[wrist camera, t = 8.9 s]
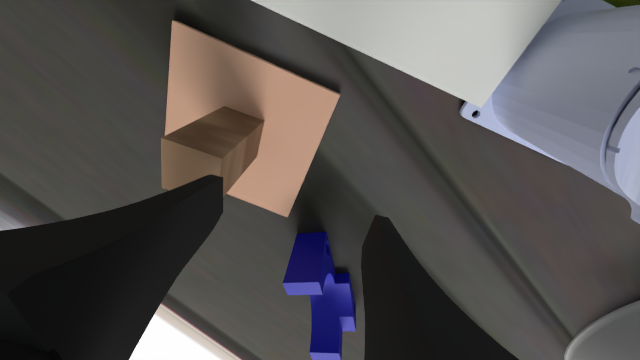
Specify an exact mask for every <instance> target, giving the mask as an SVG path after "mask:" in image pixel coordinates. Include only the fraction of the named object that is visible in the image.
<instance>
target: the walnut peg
mask: <svg viewBox="0 0 640 360" xmlns="http://www.w3.org/2000/svg"><path fill="white" fill-rule="evenodd" d="M264 122H265V121H264V120H262V119H259V118H256V117H253V116H250V115H248V114H245V113H242V112H239V111H236V110H234V109H231V108H228V107H225V106H223V107H221V108H219V109H217V110H215V111H213V112H211V113H209V114H207V115H205V116H203V117H201V118H199V119H197V120H195V121H193V122H191V123H189V124H187V125H185V126H183V127H181V128H179V129H177V130H175V131H174V132H172V133H170V134H168V135H166V136H164V137H162V138H161V166H162V188H164V189H167V190H172V189H175V188H177V187H180V186H182V185H184V184H187V183H189V182H192V181H194V180H196V179H199V178H201V177H204V176H207V175H210V174H212V175H216V176H220V177H223V197H224V196H225V194H226V193H227V192H228V191H229V190H230V188H231V187H232V186H233V185H234V184H235V182H236V181H237V180H238V179H239V178H240V176H241V175H242V174H243V173H244V172H245V170H246V169H247V168H248V167H249V166H250V164H251V163H252V162H253V161H254V160H255V158H256V157H257V155H258V150H259V145H260V140H261V136H262V131H263V126H264Z"/></svg>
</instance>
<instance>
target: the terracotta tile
mask: <svg viewBox="0 0 640 360" xmlns="http://www.w3.org/2000/svg"><path fill="white" fill-rule="evenodd" d="M339 97H340V93H337V92H335V91H333V90H331V89H329V88H326V87H324V86H322V85H320V84H317V83H315V82H313V81H311V80H308V79H306V78H304V77H302V76H300V75H297V74H295V73H293V72H291V71H288V70H286V69H284V68H282V67H279V66H277V65H275V64H273V63H270V62H268V61H266V60H264V59H262V58H259V57H257V56H255V55H253V54H250V53H248V52H246V51H244V50H241V49H239V48H237V47H235V46H233V45H230V44H228V43H226V42H224V41H221V40H219V39H217V38H215V37H212V36H210V35H208V34H206V33H203V32H201V31H199V30H197V29H195V28H192V27H190V26H188V25H186V24H183V23H181V22H179V21H173V20H172V33H171V49H170V65H169V81H168V96H167V112H166V128H165V136H166V135H168V134H170V133H172V132H174V131H175V130H177V129H179V128H181V127H183V126H185V125H187V124H189V123H191V122H193V121H195V120H197V119H199V118H201V117H203V116H205V115H207V114H209V113H211V112H213V111H215V110H217V109H219V108H221V107H223V106H225V107H228V108H231V109H234V110H236V111H239V112H242V113H245V114H248V115H250V116H253V117H256V118H259V119H262V120H264V121H265V122H264V126H263V131H262V136H261V140H260V145H259V150H258V155H257V157H256V158H255V160H254V161H253V162H252V163H251V164H250V166H249V167H248V168H247V169H246V170H245V172H244V173H243V174H242V175H241V176H240V178H239V179H238V180H237V181H236V182H235V184H234V185H233V186H232V187H231V188H230V190H229V191H228V192H227V193H226V194H229V195H232V196H234V197H237V198H239V199H242V200H244V201H247V202H250V203H252V204H255V205H257V206H260V207H262V208H265V209H267V210H270V211H273V212H275V213H278V214H280V215H283V216H285V217H288V215H289V213H290V211H291V208H292V206H293V204H294V201H295V199H296V197H297V194H298V192H299V190H300V187H301V185H302V183H303V180H304V178H305V176H306V173H307V171H308V169H309V166H310V164H311V162H312V159H313V157H314V155H315V152H316V150H317V148H318V145H319V143H320V141H321V138H322V136H323V134H324V131H325V129H326V127H327V124H328V122H329V120H330V118H331V115H332V113H333V111H334V108H335V106H336V104H337V101H338V99H339Z"/></svg>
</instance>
